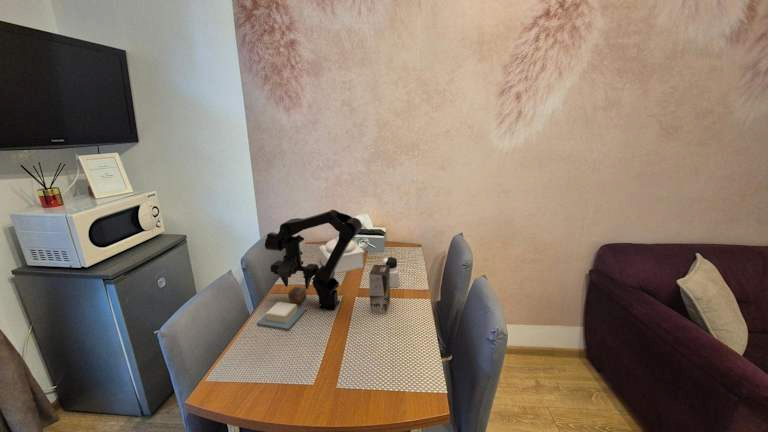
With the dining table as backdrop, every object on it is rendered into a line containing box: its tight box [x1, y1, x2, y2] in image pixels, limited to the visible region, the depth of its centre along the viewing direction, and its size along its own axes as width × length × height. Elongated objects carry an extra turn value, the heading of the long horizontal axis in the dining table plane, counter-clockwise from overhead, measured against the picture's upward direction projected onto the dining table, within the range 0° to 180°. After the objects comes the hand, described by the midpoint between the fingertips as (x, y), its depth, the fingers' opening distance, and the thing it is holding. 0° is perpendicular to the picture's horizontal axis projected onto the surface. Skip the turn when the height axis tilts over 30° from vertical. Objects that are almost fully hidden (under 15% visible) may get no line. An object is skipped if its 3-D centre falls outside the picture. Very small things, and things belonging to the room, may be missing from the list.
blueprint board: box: [256, 301, 308, 332], centre depth 122 cm, size 13×13×4 cm
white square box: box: [318, 235, 365, 275], centre depth 164 cm, size 18×18×16 cm
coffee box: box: [368, 264, 391, 315], centre depth 126 cm, size 9×6×16 cm
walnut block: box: [287, 286, 307, 306], centre depth 133 cm, size 5×5×5 cm
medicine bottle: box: [382, 256, 400, 288], centre depth 144 cm, size 7×7×12 cm
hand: (296, 287), depth 132 cm, fingers open, 9 cm apart
